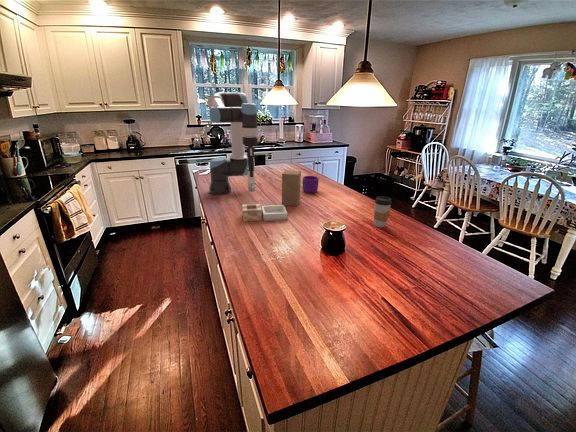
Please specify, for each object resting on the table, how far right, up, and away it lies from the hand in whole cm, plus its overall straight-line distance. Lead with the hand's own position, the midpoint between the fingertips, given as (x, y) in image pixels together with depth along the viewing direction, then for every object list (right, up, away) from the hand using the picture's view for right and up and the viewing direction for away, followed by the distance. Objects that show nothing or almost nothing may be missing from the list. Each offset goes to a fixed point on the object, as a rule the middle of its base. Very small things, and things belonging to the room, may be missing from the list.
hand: (251, 181), depth 155 cm
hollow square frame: (-1, -19, +8) cm, 21 cm away
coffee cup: (+69, -23, +1) cm, 73 cm away
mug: (+35, +1, +57) cm, 67 cm away
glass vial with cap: (0, -5, +2) cm, 5 cm away
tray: (+12, -18, +10) cm, 24 cm away
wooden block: (+21, -10, +30) cm, 39 cm away
